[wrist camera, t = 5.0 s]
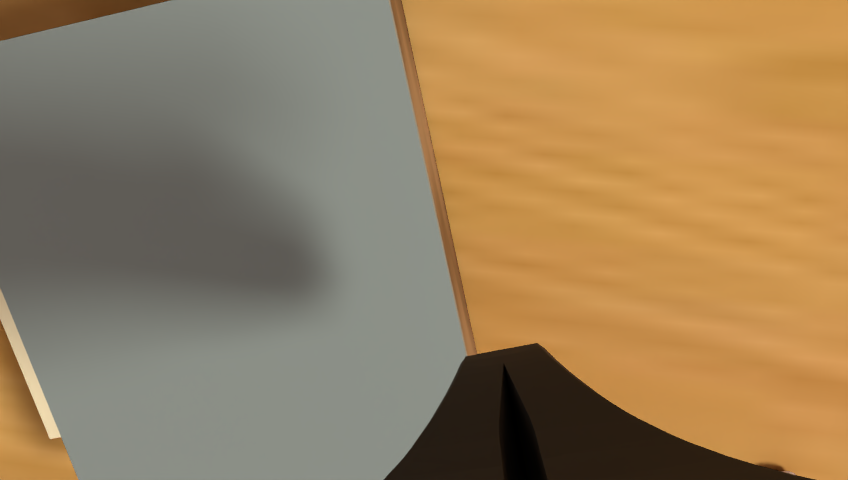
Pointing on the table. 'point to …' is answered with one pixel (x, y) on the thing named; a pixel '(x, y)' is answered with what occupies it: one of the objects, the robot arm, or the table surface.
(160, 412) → the lid
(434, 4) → the table surface
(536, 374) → the robot arm
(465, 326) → the box
